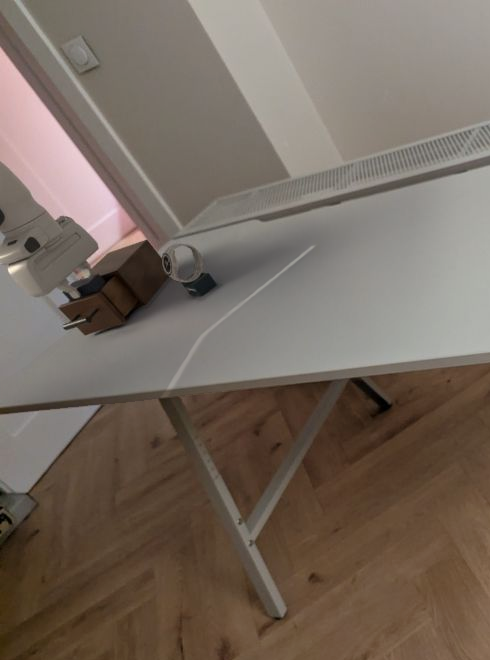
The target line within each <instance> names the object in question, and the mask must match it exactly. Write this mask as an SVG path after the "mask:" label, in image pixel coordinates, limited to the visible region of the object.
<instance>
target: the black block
mask: <svg viewBox="0 0 490 660" xmlns="http://www.w3.org/2000/svg"><path fill="white" fill-rule="evenodd" d="M80 279H81V278H80ZM80 279H78V280H75V281H73V282H71V283H69V285H71V286H72V287H74V288H76V287H79V288H80V289H81V291H83V294H82V295H81V296H80V297H79V298H76V299H74V298H72V296H71V295H70V294H69V293H67V292H64V291H62V292H61V293H62V294H64V296H65V297H66V298H67V299H68V301H69V300H70V301H75V300H78V299H81V298H84V297H87V296H90V295H93V294H96V293H99V291H100V290H101V289H102V287H103V286H104V285H105V284H106V282H105V281H104V279H103V278H102V277H101V276H100V275H99V274H96V275H93V276H90V277H87V278H84V279H81V280H80Z"/></svg>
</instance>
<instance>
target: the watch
mask: <svg viewBox="0 0 490 660" xmlns="http://www.w3.org/2000/svg"><path fill="white" fill-rule="evenodd" d="M180 247H187V248H188V249H190V250H191V253H192V257H193V260H194V268H195V272H194V273H192V274H191V275H189V276H188V277H187V278H186V279H180V278H179V274H178V272H179V261H178V259H177V257H176V249H177V248H180ZM161 258H162V266H163V269H164V272H165V273H166V275H168V276H169V277H168V278H171V279H172V280H174V281H177V282H179V283H181V286H183V288H184V289H185V290H186V292H187V293H188V294H189V295H191V296H197V297H203V296H204V295H206V294H207V293H208V292H210V291H211V290H212V289H214V288H216V287H217V286H218V284H217V282H216V281H215V280H214V278H213V277H212V275H211V274H210V273H209V272H204V260H203V258H202V255H201V252H199V250H198V249H197V248H196V247H195V246H193V245H191V244H187V243H175V244H172V245H170V246H169V247H168V248H166V250H165V251H164V252H163V253H162V255H161Z"/></svg>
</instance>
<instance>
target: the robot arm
mask: <svg viewBox="0 0 490 660" xmlns="http://www.w3.org/2000/svg"><path fill="white" fill-rule="evenodd" d="M0 234H2V236H4V238H3V240H2V244H1V245H0V265H1V266H7V271H8V272H7V273H9V275H10V277H11V278H12V279H13V280H14V281H15V283H16V284H17V285H18V286H19V287H20V288H21V289H22V290H23V291H24V292H25V293H26V294H27V295H28V296H30V297H33V298H41V297H44V296H47V295H49V294H51V293H52V292H53V291H54V290H56V289H57V290H59V291H62V292H63V291H64V292H67V293H69V294H70V295H71V296H72V298H74V299H76V298H79V297H80V296H81V295H82V294H83V291H81V289H80V288H79V287H76V288H74V287H72V286H71V285H70V281H69V280H68V279H67V278H68V277H70V275H72V274H73V273H74V272H75V271H76V270H77V271H79V270H80V272H81V274H82V277H84V278H87V277H90V276H93V274H92V271H91V268H92V267H91V263H89V262H88V259H89V258H91V256H93V255H94V254H95V253H96V252H97V251H98V250H99V248H100V247H99V244H98V241H97V240H96V239H94V237H93V236H92V235H91V234H90V233H89V232H88V231H87V230H86V229H84V227H83V226H82V225H80V224H79V223H78V222H76V221H75V220H74V219H73V218H72V217H70V216H68V215H60V216H58V217H57V218H56V219H55V218H54V217H53V216H52V215H51V214H50V212H49V211H48V210H47V209H46V208H45V207H44V206H43V205H41V204H40V203H38V202H37V201H36V200H35V198H34V197H33V195H32V193H31V191H30V189H29V188H28V187H27V186H26V184H25V183H23V181H22V180H21V179H20V178H19V177H18V176H17V175H16V174H15V173H14V172H13V171H12V170H11V169H10V168H9V167H8V166H7V165H6V164H5V163H3V162H2V161H1V160H0ZM84 278H83V279H84Z"/></svg>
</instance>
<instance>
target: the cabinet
mask: <svg viewBox="0 0 490 660" xmlns="http://www.w3.org/2000/svg"><path fill="white" fill-rule="evenodd" d="M157 251H158V250H156V249H155V247H154V246H153V245H152V244H151V242H150V241H149V240H148V239H144V240H141V241H138V242H135V243H132V244H130V245H126V246H124V247H121V248H118V249H115V250H112V251H109V252H107V253H106V254H105V255H104V256H103V257H102V258H101V259H100V260H99V261H98V262H97V263H96V264H95V265H93V266H92V267H91V271H92V274H93V275H96V274H99V275H100V276H101V277H102V278H106V277H109V276H112V275H115V274H117V275H118V277H119V278H120V279H121V280H122V281H123V283H124V284H125V285H126V286H127V287H128V288H129V290H130V291H131V292H132V293H133V294H134V295H135V297H136V298H137V299H138V300H139V301H138V302H137V303H136V305H135V306H134V307H133V308H132V309H131V310H133V309H134V310H135V309H136V308H141V307H144V306H146V305H147V304H148V303H149V301H151V299H152V298H153V297H154V295H155V294H156V293H157V292H158V290H159V289H160V288H161V287H162V286H163V285H164V283H165V282H166V281H167V280H168V278H170V277H169V276H168V275H166V273H165V272H164V269H163V266H162V255H160V253H158V252H157ZM83 278H84V277H83V276H82V277H81V278H79V280H81V279H83Z"/></svg>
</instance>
